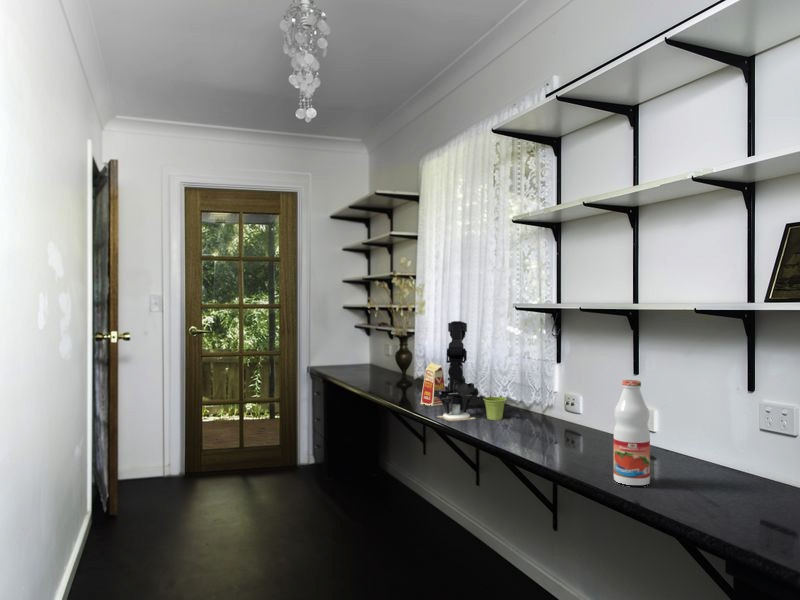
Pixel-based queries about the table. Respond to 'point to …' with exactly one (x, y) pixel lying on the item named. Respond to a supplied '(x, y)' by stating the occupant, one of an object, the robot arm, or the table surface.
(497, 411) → the plant pot
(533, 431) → the table surface
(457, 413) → the lid
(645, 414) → the fruit juice
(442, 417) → the mat
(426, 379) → the milk carton
